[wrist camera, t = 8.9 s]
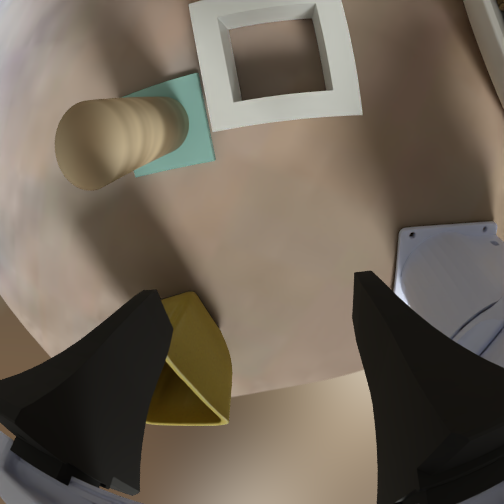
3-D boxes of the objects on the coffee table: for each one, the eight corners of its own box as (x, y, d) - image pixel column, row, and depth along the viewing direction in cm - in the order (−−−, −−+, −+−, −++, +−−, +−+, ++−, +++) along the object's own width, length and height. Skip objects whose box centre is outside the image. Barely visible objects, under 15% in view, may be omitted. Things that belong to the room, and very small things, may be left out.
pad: (198, 73, 15) (196, 72, 15) (215, 159, 18) (214, 160, 18) (120, 98, 17) (117, 99, 16) (138, 175, 19) (135, 177, 19)
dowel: (184, 90, 16) (114, 87, 9) (193, 148, 18) (132, 182, 11) (130, 105, 16) (48, 117, 9) (141, 159, 18) (66, 197, 11)
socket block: (329, -1, 12) (336, -18, 9) (351, 113, 15) (362, 115, 13) (203, 17, 13) (188, 4, 11) (224, 127, 17) (212, 132, 14)
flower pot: (124, 290, 25) (75, 359, 17) (200, 263, 22) (157, 348, 14) (174, 354, 28) (145, 424, 21) (248, 340, 26) (231, 425, 18)
